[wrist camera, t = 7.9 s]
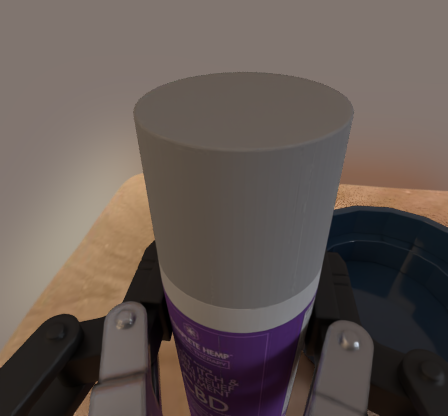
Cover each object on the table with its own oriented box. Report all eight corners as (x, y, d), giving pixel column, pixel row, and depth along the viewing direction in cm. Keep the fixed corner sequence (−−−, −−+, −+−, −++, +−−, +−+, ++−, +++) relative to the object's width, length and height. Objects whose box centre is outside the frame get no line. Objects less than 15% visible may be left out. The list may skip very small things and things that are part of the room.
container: (179, 450, 14) (79, 145, 5) (200, 350, 18) (166, 68, 9) (285, 470, 14) (390, 162, 4) (285, 362, 17) (342, 72, 8)
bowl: (432, 259, 26) (460, 211, 22) (527, 433, 16) (597, 390, 13) (282, 248, 27) (289, 201, 24) (289, 404, 17) (301, 358, 14)
